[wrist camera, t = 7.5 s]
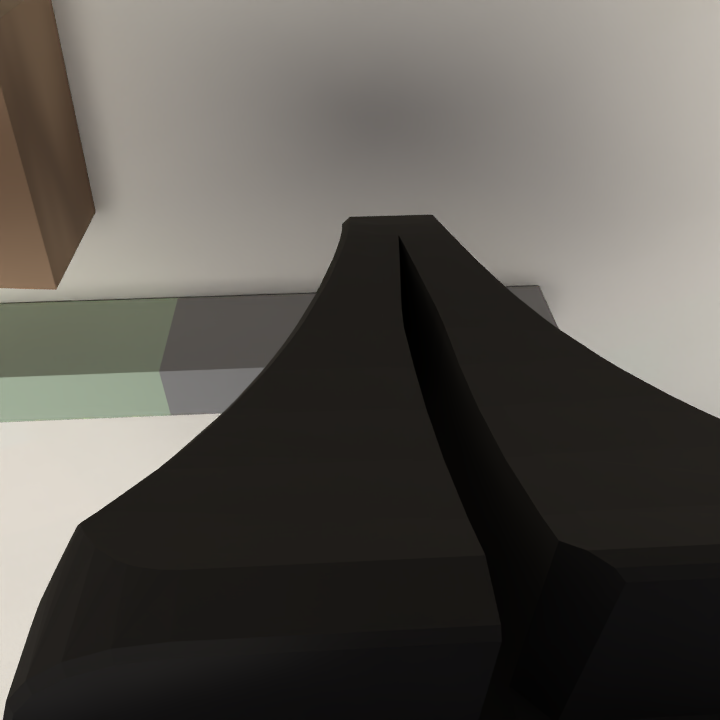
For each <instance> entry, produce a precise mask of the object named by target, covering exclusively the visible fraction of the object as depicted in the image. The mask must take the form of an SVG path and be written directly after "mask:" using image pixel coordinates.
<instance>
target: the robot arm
mask: <svg viewBox="0 0 720 720" xmlns="http://www.w3.org/2000/svg"><path fill="white" fill-rule="evenodd" d="M3 720H720V419H719V418H717V417H715V416H712V415H710V414H708V413H706V412H704V411H701V410H699V409H697V408H695V407H693V406H691V405H689V404H687V403H685V402H683V401H681V400H679V399H677V398H674V397H672V396H670V395H669V394H667V393H665V392H663V391H661V390H659V389H657V388H656V387H654V386H652V385H650V384H648V383H646V382H644V381H643V380H641V379H639V378H637V377H635V376H633V375H631V374H630V373H628V372H626V371H624V370H622V369H621V368H619V367H617V366H616V365H614V364H612V363H610V362H609V361H607V360H605V359H604V358H602V357H600V356H599V355H597V354H596V353H594V352H593V351H591V350H590V349H588V348H587V347H585V346H584V345H582V344H581V343H579V342H578V341H576V340H574V339H573V338H571V337H570V336H568V335H567V334H565V333H564V332H562V331H561V330H560V329H558V328H557V327H555V326H554V325H553V324H551V323H550V322H549V321H547V320H546V319H544V318H543V317H542V316H541V315H539V314H538V313H537V312H536V311H534V310H533V309H532V308H531V307H529V306H528V305H527V304H526V303H524V302H523V301H522V300H521V299H519V298H518V297H517V296H516V295H514V294H513V293H512V292H511V291H510V290H509V289H508V288H506V287H505V286H504V285H503V284H502V283H501V282H500V281H498V280H497V279H496V278H495V277H494V276H493V275H492V274H491V273H490V272H489V271H488V270H486V269H485V268H484V267H483V266H482V265H481V264H480V263H479V262H478V261H477V260H476V259H475V258H474V257H473V256H472V255H471V254H470V253H469V252H468V251H467V250H466V249H465V248H464V247H463V246H462V245H461V244H460V243H459V242H458V241H457V240H456V239H455V238H454V237H453V236H452V235H451V234H450V233H449V232H448V231H447V230H446V228H445V227H444V226H443V225H442V224H441V223H440V222H439V221H438V220H437V219H436V218H435V217H434V216H433V215H405V216H367V217H349V218H348V219H347V220H346V221H345V222H344V223H343V224H342V233H341V237H340V241H339V244H338V247H337V250H336V252H335V255H334V257H333V260H332V262H331V264H330V266H329V268H328V271H327V273H326V275H325V277H324V279H323V281H322V283H321V285H320V287H319V289H318V291H317V293H316V294H315V296H314V298H313V299H312V301H311V303H310V304H309V306H308V308H307V309H306V311H305V312H304V314H303V316H302V317H301V319H300V321H299V322H298V324H297V325H296V327H295V328H294V330H293V331H292V333H291V334H290V335H289V337H288V338H287V340H286V341H285V342H284V344H283V345H282V347H281V348H280V349H279V350H278V352H277V353H276V354H275V355H274V357H273V358H272V359H271V361H270V362H269V363H268V364H267V366H266V367H265V368H264V369H263V370H262V371H261V373H260V374H259V375H258V376H257V377H256V378H255V379H254V380H253V381H252V382H251V384H250V385H249V386H248V387H247V388H246V389H245V390H244V391H243V392H242V394H241V395H240V396H239V397H238V398H237V399H236V400H235V401H234V402H233V403H232V404H231V405H230V406H229V407H228V408H227V409H226V410H225V411H224V412H223V413H222V414H221V415H220V416H219V417H218V418H217V419H216V420H214V421H213V422H212V423H211V424H210V425H209V426H208V427H206V428H205V429H204V430H203V431H202V432H201V433H200V434H198V435H197V436H196V437H195V438H194V439H193V440H192V441H191V442H189V443H188V444H187V445H186V446H185V447H184V448H183V449H181V450H180V451H179V452H178V453H177V454H176V455H175V456H173V457H172V458H171V459H170V460H169V461H167V462H166V463H165V464H164V465H162V466H161V467H160V468H159V469H157V470H156V471H155V472H153V473H152V474H150V475H149V476H148V477H146V478H145V479H143V480H142V481H140V482H139V483H138V484H136V485H135V486H133V487H132V488H131V489H129V490H128V491H126V492H125V493H123V494H122V495H121V496H119V497H118V498H116V499H115V500H114V501H112V502H111V503H109V504H108V505H107V506H105V507H104V508H102V509H101V510H99V511H98V512H96V513H95V514H93V515H92V516H90V517H89V518H87V519H86V520H84V521H83V522H81V523H80V524H79V525H78V526H77V528H76V530H75V532H74V533H73V535H72V537H71V539H70V541H69V543H68V545H67V547H66V549H65V551H64V553H63V555H62V557H61V559H60V561H59V563H58V566H57V568H56V570H55V572H54V574H53V576H52V578H51V580H50V582H49V584H48V586H47V588H46V590H45V593H44V595H43V597H42V599H41V601H40V603H39V606H38V608H37V611H36V614H35V617H34V620H33V622H32V625H31V628H30V631H29V634H28V637H27V640H26V643H25V646H24V649H23V652H22V655H21V658H20V661H19V664H18V667H17V670H16V673H15V676H14V679H13V682H12V685H11V688H10V691H9V694H8V697H7V700H6V704H5V710H4V717H3Z"/></svg>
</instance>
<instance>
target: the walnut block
mask: <svg viewBox="0 0 720 720" xmlns="http://www.w3.org/2000/svg"><path fill="white" fill-rule="evenodd" d="M94 214H95V207H94V202H93V198H92V193H91V188H90V183H89V178H88V174H87V169H86V164H85V159H84V154H83V150H82V145H81V140H80V135H79V130H78V126H77V121H76V116H75V111H74V106H73V102H72V97H71V92H70V87H69V83H68V78H67V73H66V68H65V63H64V59H63V54H62V49H61V44H60V39H59V35H58V30H57V25H56V20H55V15H54V11H53V6H52V1H51V0H0V288H18V289H57V287H58V285H59V283H60V281H61V279H62V277H63V275H64V273H65V271H66V269H67V267H68V265H69V263H70V262H71V260H72V258H73V256H74V254H75V252H76V250H77V248H78V246H79V244H80V242H81V240H82V238H83V236H84V234H85V232H86V230H87V228H88V226H89V224H90V222H91V220H92V218H93V216H94Z"/></svg>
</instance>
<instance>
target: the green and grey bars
mask: <svg viewBox="0 0 720 720" xmlns="http://www.w3.org/2000/svg"><path fill="white" fill-rule="evenodd" d="M506 288H508V289H509V290H510V291H511V292H512V293H513V294H514V295H516V296H517V297H518V298H519V299H521V300H522V301H523V302H524V303H526V304H527V305H528V306H529V307H531V308H532V309H533V310H534V311H536V312H537V313H538V314H539V315H541V316H542V317H543V318H544V319H546V320H547V321H549V322H550V323H551V324H553V325H554V326H555V327H557V328H558V326H557V324H556V322H555V320H554V318H553V315H552V313H551V311H550V309H549V307H548V305H547V302H546V300H545V298H544V296H543V294H542V291H541V289H540V287H539V286H524V287H506ZM315 294H316V293H312V294H282V295H251V296H221V297H191V298H160V299H130V300H100V301H70V302H39V303H9V304H0V422H20V421H44V420H69V419H93V418H118V417H142V416H167V415H192V414H216V413H223V412H224V411H225V410H226V409H227V408H228V407H229V406H230V405H231V404H232V403H233V402H234V401H235V400H236V399H237V398H238V397H239V396H240V395H241V394H242V392H243V391H244V390H245V389H246V388H247V387H248V386H249V385H250V384H251V382H252V381H253V380H254V379H255V378H256V377H257V376H258V375H259V374H260V373H261V371H262V370H263V369H264V368H265V367H266V366H267V364H268V363H269V362H270V361H271V359H272V358H273V357H274V355H275V354H276V353H277V352H278V350H279V349H280V348H281V347H282V345H283V344H284V342H285V341H286V340H287V338H288V337H289V335H290V334H291V333H292V331H293V330H294V328H295V327H296V325H297V324H298V322H299V321H300V319H301V317H302V316H303V314H304V312H305V311H306V309H307V308H308V306H309V304H310V303H311V301H312V299H313V298H314V296H315Z"/></svg>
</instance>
